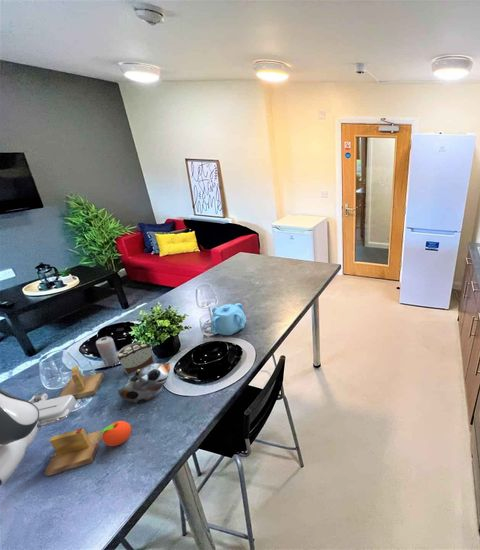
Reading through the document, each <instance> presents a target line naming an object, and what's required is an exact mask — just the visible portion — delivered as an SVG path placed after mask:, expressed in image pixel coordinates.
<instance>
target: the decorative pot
mask: <svg viewBox="0 0 480 550" xmlns="http://www.w3.org/2000/svg"><path fill="white" fill-rule="evenodd" d="M243 307H244V306H243V304H242V303H240V302H237V303H234V304H232V303H231V304H230V303H227V304H223V305H222V306H214V307H213V308H212V310H211V312H212V316H211V320H210V329H211V333H212V334H213V335H217V334H219V335H222V336H233V335H234V334H236V333H237V332H239V331H240V330H243V329H245V325H246V323H247V317H246V314H245V313H244V311H243Z"/></svg>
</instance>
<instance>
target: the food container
mask: <svg viewBox="0 0 480 550" xmlns="http://www.w3.org/2000/svg"><path fill="white" fill-rule="evenodd" d="M139 342H140V341H135V342H132V343H130V344H127V345H125V346H123V347H122V348H121V349H119V350H118V353H117V356H116V359H117V362H118V360H119V361H120V363H119V364H120V365H121V367H122V369H123V370H124V372H125V374H126V375H127V376H131V375H132V374H135V372H136V371H137V370H138V369H140V370H141V371H142V370H143V369H144V368H146V367H148V366H150V365H152V364H155V361H154V355H153V348H152V347H154V345H153V344H152V343H151V344H140V343H139Z"/></svg>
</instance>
